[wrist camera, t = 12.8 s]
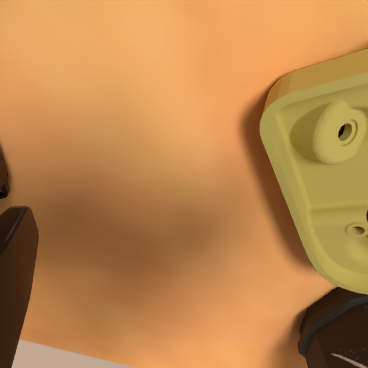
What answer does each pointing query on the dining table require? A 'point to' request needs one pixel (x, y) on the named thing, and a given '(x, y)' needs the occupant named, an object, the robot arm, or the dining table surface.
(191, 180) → the dining table surface
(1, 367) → the robot arm
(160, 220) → the dining table surface
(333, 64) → the plastic component
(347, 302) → the patterned black pot
